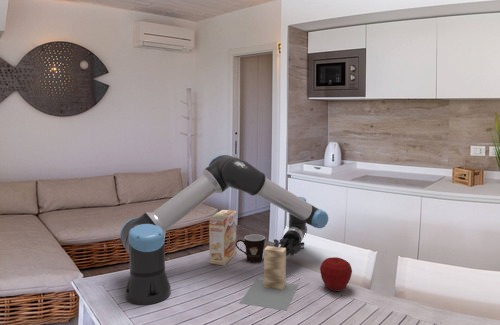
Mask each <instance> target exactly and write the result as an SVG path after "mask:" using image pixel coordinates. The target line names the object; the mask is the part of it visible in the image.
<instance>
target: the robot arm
mask: <svg viewBox="0 0 500 325" xmlns="http://www.w3.org/2000/svg"><path fill="white" fill-rule="evenodd" d="M229 188H231V189H234V190H238V191H242V192H244V193H247V194H248V195H250V196H253V197H254V196H258V197H259V198H261V199H263V200H264V201H266V202H268V203H270V204H272V205H274V206H276V207H277V208H279V209H281V210H283V211H285V212H287V213H288V230H286V232H285V234H283V236H282V238H281V239H279V240H278V239H273V247H282V248H286V258H287V257H288V256H289V255H290V256H294V255H296V254H297V253H299V252H300V251H302V250H304V249H305V242H304V241H303V240H304V238H305V237H304V235H305V233H306V234H307V233H308V227H307V226H308V225H309V226H312V228H313V227H314V228H316V229H323V228H325V227H326V226H327V225H328V222H329V215H328V213H327V212H326V211H324V210H323V209H321V208H318V207H316V206H315V205H313V204H311V203H309V202H307V199H306V198H305V197H303V196H297V195H295V194H294V193H292V192H290V191H289V190H288V189H286V188H284V187H283V186H281V185H279V184H277V183H275V181H272V180H270V179H268V178H267V177H266V174H265V173H263V172H262V171H260V170H259V169H258V168H256V167H255V166H253V165H252V164H251V163H249V162H248V161H246V160H244V159H242V158H239V157H234V156H232V155H228V154H221V155H217V156H215V157H213V158H212V159H211V160H210V162H209V164H208V166H207V167H206V168H204V169H203V170H202V175H201V176H200V177H198V178H197V179H196V180H194V181H193V182H192V183H191V184H189V185H188V186H187V187H184V188H183V189H182V190H181V191H179V192H178V193H177V194H175V195H174V196H173V197H172V198H169V200H167V201H166V202H164V203H163V204H162V205H160V206H159V207H158V208H156V209H155V210H154V211H152V212H148V211H147V212H144V213H143V214H142V215H140V216H139V217H135V218H130V219H129V220H127V221H126V222H124V224H123V225H122V227H121V229H120V235H119V236H120V241H121V245H122V246H123V247H124V249H125V250H126V252H127V253H128V256H129V258H128V259H129V278H128V282H127V283H126V286H125V299H126V301H128V302H129V303H132V304H133V305H134V304H135V305H152V304H156V303H160V302H162V301H164V300H166V299H167V298H169V297H170V296H171V293H172V290H171V289H172V288H171V284H170V282H169V279H168V276H167V273H166V261H165V260H166V254H165V241H166V240H165V239H166V238H165V237H166V232H167V231H168V230H169V229H171V227H173V226H174V225H175V224H177V223H178V222H179V221H180V220H182V219H184V218H185V217H186V216H187V215H188V214H190V213H191V212H193V211H194V210H195V209H196V208H197V207H199V206H200V205H202V204H203V203H204V202H206V201H207V200H208V199H209V198H210V197H212V196H213V195H215V194H222V193H224V192H225V191H226V190H228V189H229ZM305 236H306V235H305Z"/></svg>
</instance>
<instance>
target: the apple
mask: <svg viewBox="0 0 500 325" xmlns="http://www.w3.org/2000/svg"><path fill="white" fill-rule="evenodd" d="M319 270H320V276H321V280H322V281H323V284H324V286H326V287H327V288H328V289H329V290H331V291H333V292H334V291H335V292H340V291H342V290H344V289H346V288H347V286H348V284H349V282H350V280H351V279H352V278H351V277H352V274H353V270H352V266H351V263H350V262H348V261H347V260H345V259H344V258H341V257H338V256H336V257H335V256H334V257H327V258H325V259H323V261H322V263H321V264H320V268H319Z"/></svg>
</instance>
